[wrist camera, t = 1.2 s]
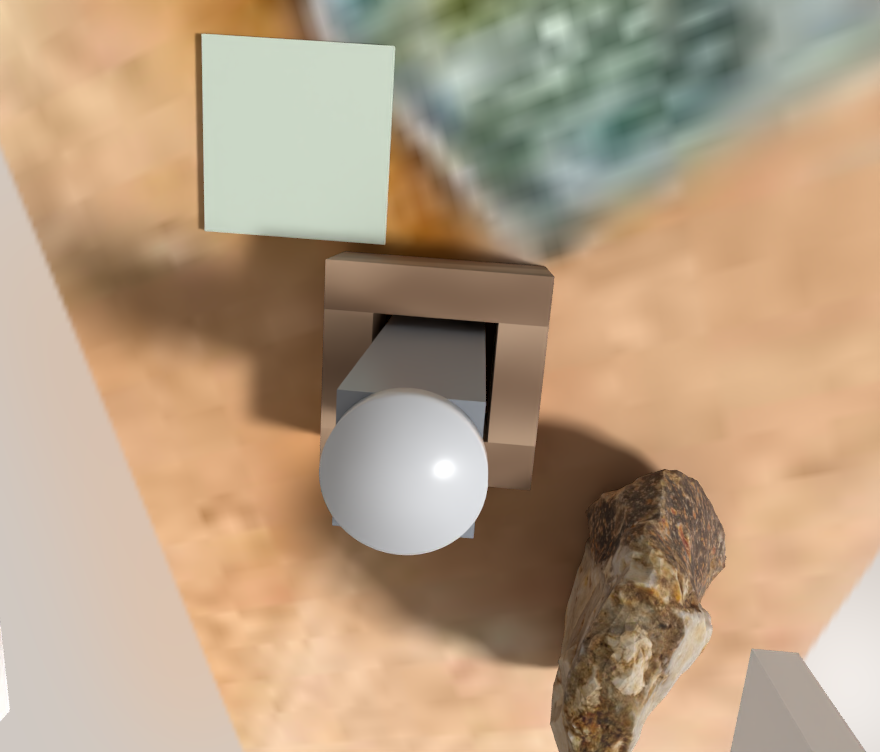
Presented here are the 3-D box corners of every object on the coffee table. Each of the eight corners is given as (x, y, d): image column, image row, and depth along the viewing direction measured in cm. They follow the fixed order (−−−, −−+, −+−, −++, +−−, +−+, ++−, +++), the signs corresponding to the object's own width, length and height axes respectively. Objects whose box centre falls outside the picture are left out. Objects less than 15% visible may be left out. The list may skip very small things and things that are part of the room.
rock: (667, 859, 34) (788, 828, 22) (514, 804, 35) (550, 746, 24) (694, 582, 42) (792, 451, 31) (570, 546, 44) (617, 408, 32)
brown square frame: (345, 251, 35) (325, 259, 31) (545, 266, 34) (554, 276, 30) (338, 439, 37) (319, 471, 33) (524, 455, 37) (530, 490, 33)
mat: (204, 35, 33) (201, 33, 32) (395, 47, 32) (394, 46, 32) (207, 230, 35) (204, 230, 35) (385, 244, 35) (384, 244, 34)
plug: (392, 304, 35) (321, 389, 20) (490, 312, 35) (495, 404, 20) (387, 398, 37) (317, 547, 21) (482, 406, 37) (480, 562, 21)
